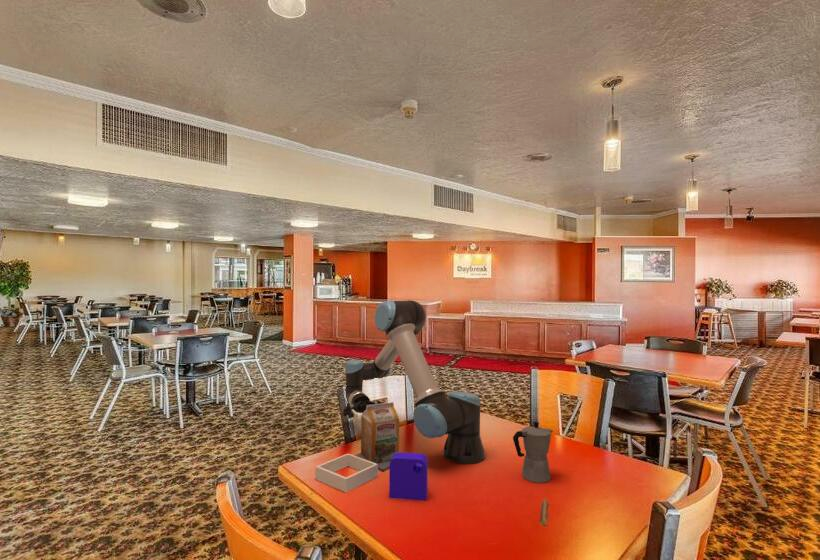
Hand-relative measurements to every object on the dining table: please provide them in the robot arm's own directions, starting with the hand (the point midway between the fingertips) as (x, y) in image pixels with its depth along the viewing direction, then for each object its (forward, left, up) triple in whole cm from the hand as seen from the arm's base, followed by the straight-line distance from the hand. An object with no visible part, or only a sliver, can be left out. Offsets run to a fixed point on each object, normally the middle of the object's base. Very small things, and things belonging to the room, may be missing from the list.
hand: (374, 416), depth 158 cm
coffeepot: (-54, -18, -14) cm, 59 cm away
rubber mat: (-5, +3, -14) cm, 15 cm away
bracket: (-27, +11, -14) cm, 32 cm away
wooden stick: (-65, +2, -14) cm, 67 cm away
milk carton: (-5, +3, -13) cm, 14 cm away
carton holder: (-7, +21, -14) cm, 26 cm away
